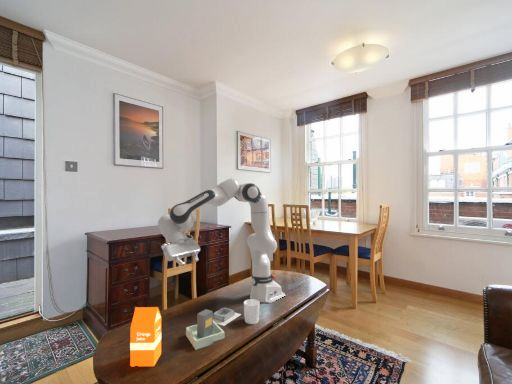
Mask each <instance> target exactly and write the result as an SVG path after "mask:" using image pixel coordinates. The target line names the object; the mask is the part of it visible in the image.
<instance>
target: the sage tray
mask: <svg viewBox="0 0 512 384" xmlns="http://www.w3.org/2000/svg"><path fill="white" fill-rule="evenodd" d="M225 334H226V333H225V331H224V330H223V329H222V327H220V325H219V324H217V323H215V322H214V321H213V334H212V335H210V336H207V337H204V338H199V337H197V324H193V325H190V326H187V327H185V336H186V338H187V339H188V341H189V343H190V344H191V345H192V347H193V348H194V350H196V351H197V350H200V349H203V348H206V347H209V346H211V345H215V344H216V343H215V342H217V341H220V340H223V339H225V337H226V336H225Z"/></svg>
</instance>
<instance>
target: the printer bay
mask: <svg viewBox="0 0 512 384" xmlns="http://www.w3.org/2000/svg"><path fill="white" fill-rule="evenodd" d="M241 315H242V314H241V313H238V312H235V310H234V309H231V308H227V307H224V306H223V307H222V308H220V309H218V310H217V311H215V312H213V321H214V322H215V323H216V324H217V325H219V326H223V327H225V326H226V325H227V324H230V323H231V322H232V321H234V320H236V319H237V318H238V317H240V316H241Z"/></svg>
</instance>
